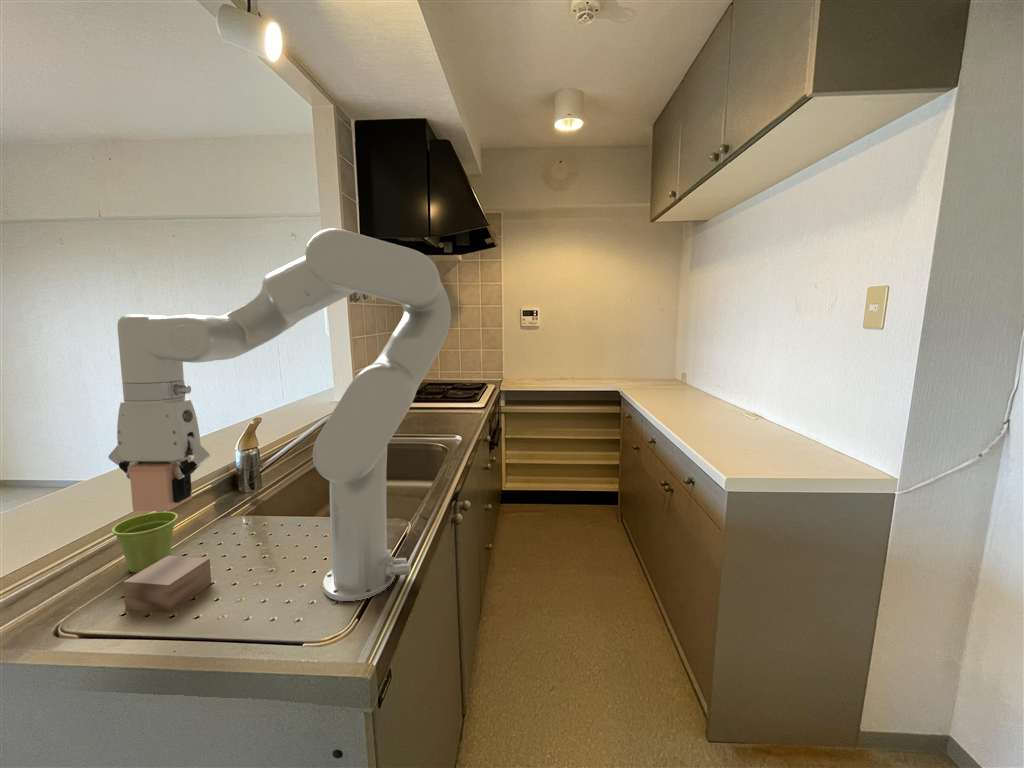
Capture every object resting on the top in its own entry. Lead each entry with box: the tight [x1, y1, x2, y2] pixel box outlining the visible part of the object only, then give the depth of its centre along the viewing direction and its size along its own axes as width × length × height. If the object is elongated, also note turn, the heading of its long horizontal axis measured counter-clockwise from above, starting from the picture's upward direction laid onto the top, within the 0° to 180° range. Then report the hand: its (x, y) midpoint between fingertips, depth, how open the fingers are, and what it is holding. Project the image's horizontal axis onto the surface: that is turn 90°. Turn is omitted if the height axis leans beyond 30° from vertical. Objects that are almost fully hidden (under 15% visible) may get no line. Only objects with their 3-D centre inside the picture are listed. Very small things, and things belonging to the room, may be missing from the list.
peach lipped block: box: [128, 455, 193, 512], centre depth 68 cm, size 6×6×7 cm
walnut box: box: [122, 555, 212, 614], centre depth 70 cm, size 8×8×5 cm
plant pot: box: [111, 511, 179, 573], centre depth 79 cm, size 9×9×9 cm
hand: (163, 498), depth 68 cm, fingers closed on peach lipped block, 5 cm apart
